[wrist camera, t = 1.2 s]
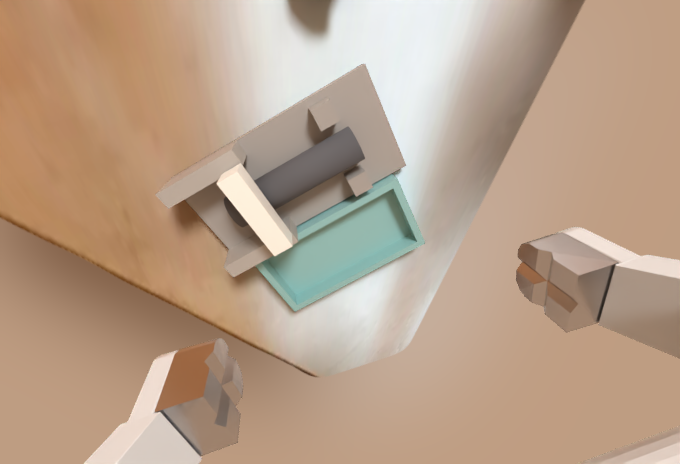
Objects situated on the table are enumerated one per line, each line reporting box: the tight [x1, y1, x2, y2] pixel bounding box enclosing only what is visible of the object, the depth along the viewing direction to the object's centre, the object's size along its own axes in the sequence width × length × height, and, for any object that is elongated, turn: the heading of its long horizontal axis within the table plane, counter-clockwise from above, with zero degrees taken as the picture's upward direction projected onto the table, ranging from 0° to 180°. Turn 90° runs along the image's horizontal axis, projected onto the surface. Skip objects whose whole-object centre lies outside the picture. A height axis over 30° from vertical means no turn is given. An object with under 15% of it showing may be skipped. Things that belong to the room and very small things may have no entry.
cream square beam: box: [217, 163, 293, 256], centre depth 28 cm, size 2×8×2 cm, turn 27°
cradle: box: [156, 64, 406, 278], centre depth 31 cm, size 22×11×5 cm, turn 117°
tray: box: [256, 174, 425, 312], centre depth 37 cm, size 19×10×3 cm, turn 117°
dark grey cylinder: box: [224, 126, 365, 227], centre depth 30 cm, size 14×4×4 cm, turn 117°
